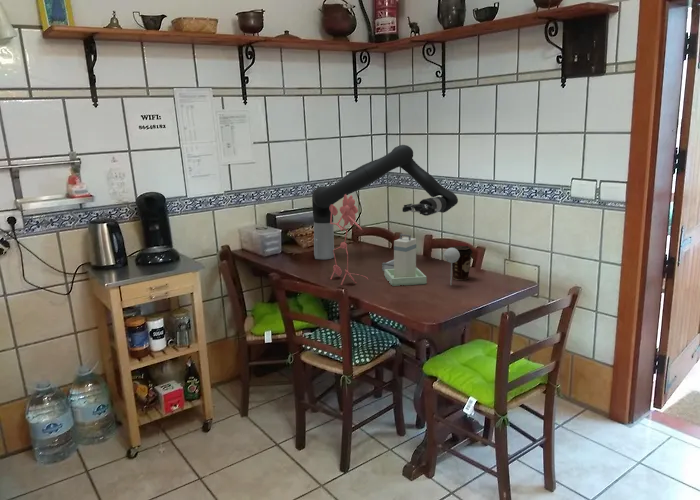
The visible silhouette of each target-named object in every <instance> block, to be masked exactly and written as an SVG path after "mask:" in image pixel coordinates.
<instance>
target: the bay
mask: <svg viewBox="0 0 700 500" xmlns="http://www.w3.org/2000/svg"><path fill="white" fill-rule="evenodd" d="M384 269H394V259H392V260H389V261H387V262H382V263H381V270H382V272H384Z"/></svg>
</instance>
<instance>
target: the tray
mask: <svg viewBox="0 0 700 500" xmlns="http://www.w3.org/2000/svg"><path fill="white" fill-rule="evenodd" d="M383 273H384V274H383V275H384V276H385V277H384V278H385V280H386V281H387V282H388V281H389V282H388V283H389V285H390V286H391V285H392V286H391V287H399V286H400V285H402V286H403V285H404V286H419V285H427V284H428V283H427V279H428V278H427V275H425V274H424V273H423V271H421V270H420V269H419V268H418V267H416V277H403V278H394V269H384V271H383ZM402 286H400V287H402Z"/></svg>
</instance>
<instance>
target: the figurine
mask: <svg viewBox="0 0 700 500" xmlns="http://www.w3.org/2000/svg"><path fill="white" fill-rule="evenodd" d="M342 199H343V200H342V206H340V207H339V211H338V209H337V207H336V206H335V205H334V204H332V205H330V207H329V210H330V212H331V218H330V224H333V225H336V226H337V227H339V229H340V231H341V232H343V231H345V235H344V241H343V242H340V246H339V247H336V248H334V250H333V253H334V258H333V259H334V262H335V264H334V265H333V266H332V270H333V271H332V274H331V277H330V280H332V279H333V277H334V276H335V275H334V274H336V275H337V276H338V277H340V276H341V275H342V274H343V273H342V272H343V271H342V269H341V267H340V266H339V265H337V260H336V255H335V251H336V250H337V249H340V248H341V250H342V249H344V250H345V251H346V269H344V271H345V272H344V276H343V279H342V281H341V283H340V285H341V286H343V283H344V281H345V279H346V277H347V275H348V276H349V278H350V279H351V280H352V281H353V282H354V283H355V284H357V281H356V280H355V278H354V277H353V276H352V275H357V276H359V274H358V273H352V272H349V253H348V243H346V241H347V235H348V232H349V231H348V229H346V227H345V226H348V225H349V224H350V226H351V227H353V225H355V226H356V227H357V228H358V229H359V230H361V231H363V229H362V227H361V226H360V225H359V224H358V223H357V221H356V219H357V217H356V214H357V213H358V211H359V209H358V207H357V206H356V205H355V204H356V200H355V199H354V198H353V195H351V194H350V195H349V197H348V195H346V194H345V195H344V197H343V198H342ZM338 212H340V213H341V217H340V219H339V220H338V222H333V223H331V222H332V214H333V217H336V215H338ZM342 219H343V221H344V222H343V223H344V224H343V226H342V225H340V223H341V220H342ZM360 276H361V277H365V278H366V279H367V280H369V279H368V277H367V276H366V275H361V274H360Z"/></svg>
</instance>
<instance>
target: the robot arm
mask: <svg viewBox="0 0 700 500" xmlns="http://www.w3.org/2000/svg"><path fill="white" fill-rule="evenodd" d="M413 157H414V150H413V149H412V148H411V146H409V145H406V144H400V145H398V146H396V147H394V148H393V149H392V150H391V151H390V152H389V153H387V154H385V155H383V156H381V157H380V158H377V159H373V160H372V161H369V162H367V163H365V164H362V165H360V166H359V167H356V168H355V169H353V170H351V171H350V172H349V173H348V174H346V175H345V176H344V177H343V178H342V179H340V180H339V181H338V182H336V183H333V184H331V185H329V186H327V187H325V186H319V187H317V188H315V189H314V191H312V196H311V202H312V205H311V206H312V215H313V255H314V259H315V260H331V259H335V258H334V253H335V252H334V253H333V250H334V249H335V239H334V238H335V236H334V232H335V231H334V224H330V218H331V212H330V210H329V207H330V205H332V204H333V205H334V204H335V203H337V202H338V201H340V200H342V199H344V195H345V194H346V195H347V196H348V195H351V194H352V193H355V192H357V191H359V190H361V189H363V188H365V187H366V186H369V185H371V184H372V183H374V182H376V181H377V180H379V179H381V178H382V177H384V176H385V175H386V174H387V173H389V172H390V171H393V170H395V169H398V168H401V169H402V170H403V171H405V172H406V173H407V174H408V175H409V176H410V177H411V178H412V179H414V181H416V182H417V184H418V185H419V186H420V187H421V188H422V189H423V190H424V191H425V192H426V193H427V194H428V195H429V196H430V197H429V198H423V199H421V200H420V201H419V202H418V203H408V204H403V207H402V212H403V213H407V212H412V213H419V215H422V216H425V217H426V216H432V215H435V214H437V213H441V214H442V213H447V212H448V211H449V210H450V209H451V210H452V208H453V207H454V206H456V205H457V204H458V202H459V199H458V197H457V195H456V193H454V192H452V191H451V190H449V189H447V188H446V187H444V186H443V185H441V184H440V183H439V182H438V181H437V179H436V178H435V177H433V176H432V175H431V174H430V173H429V172H428V171H426V170H425V169H423V168H422V167H421V166H420V165H419V164H418V163H417V162H416V161H415V160H414V159H413ZM331 223H334V215H333V214H332V222H331ZM334 251H335V250H334Z"/></svg>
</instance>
